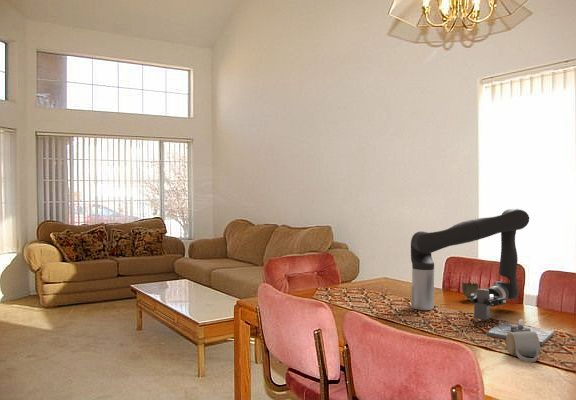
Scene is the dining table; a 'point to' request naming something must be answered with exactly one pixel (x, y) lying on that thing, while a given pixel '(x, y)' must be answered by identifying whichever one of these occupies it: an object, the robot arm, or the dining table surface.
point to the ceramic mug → (523, 345)
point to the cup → (469, 289)
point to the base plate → (506, 328)
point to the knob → (482, 305)
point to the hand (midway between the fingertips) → (480, 302)
